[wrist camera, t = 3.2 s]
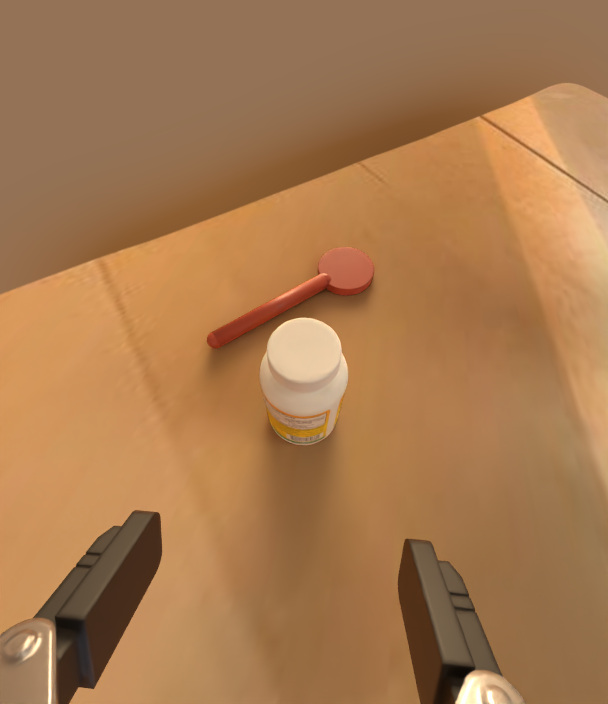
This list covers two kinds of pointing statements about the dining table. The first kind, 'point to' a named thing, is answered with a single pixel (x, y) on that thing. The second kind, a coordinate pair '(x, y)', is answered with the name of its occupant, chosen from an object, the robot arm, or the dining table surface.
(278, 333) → the supplement bottle
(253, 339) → the dining table surface
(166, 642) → the dining table surface
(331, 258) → the red spoon
